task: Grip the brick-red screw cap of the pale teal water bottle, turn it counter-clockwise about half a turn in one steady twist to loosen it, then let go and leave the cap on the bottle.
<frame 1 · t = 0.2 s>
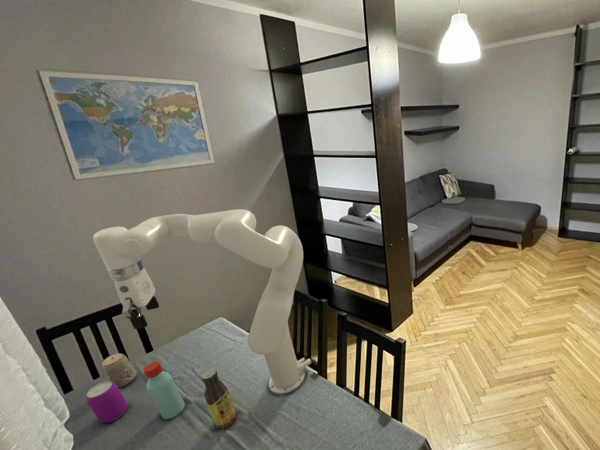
hand: (147, 317, 96), 36 cm above the table, tool pointing down, fingers open, 9 cm apart
carving: (126, 382, 120), on the table
beverage can: (115, 414, 107), on the table
water bottle: (173, 410, 107), on the table
cap: (151, 367, 99), point 20 cm above the table, screwed on, not yet turned
sauce bottle: (226, 420, 102), on the table
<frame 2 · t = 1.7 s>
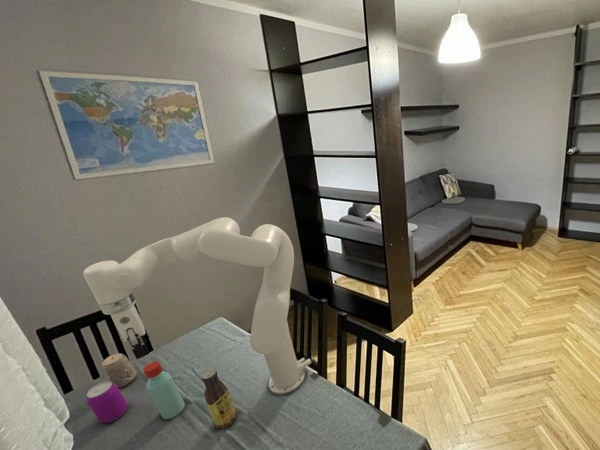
hand: (141, 350, 96), 27 cm above the table, tool pointing down, fingers open, 5 cm apart
nothing on the table moved.
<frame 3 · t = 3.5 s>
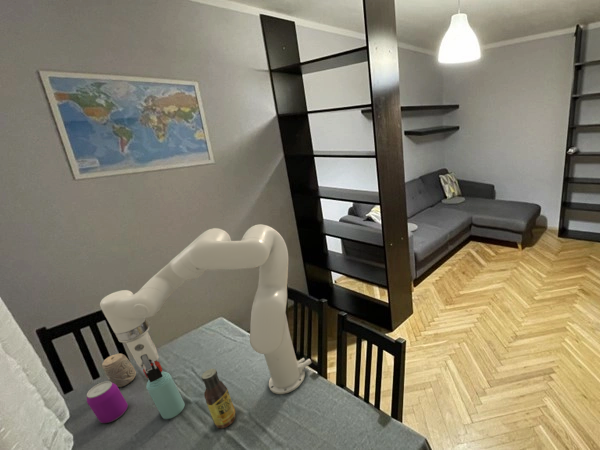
hand: (155, 374, 100), 17 cm above the table, tool pointing down, fingers closed on cap, 4 cm apart
cap: (151, 367, 99), point 20 cm above the table, screwed on, not yet turned, touching gripper
everything else where it was.
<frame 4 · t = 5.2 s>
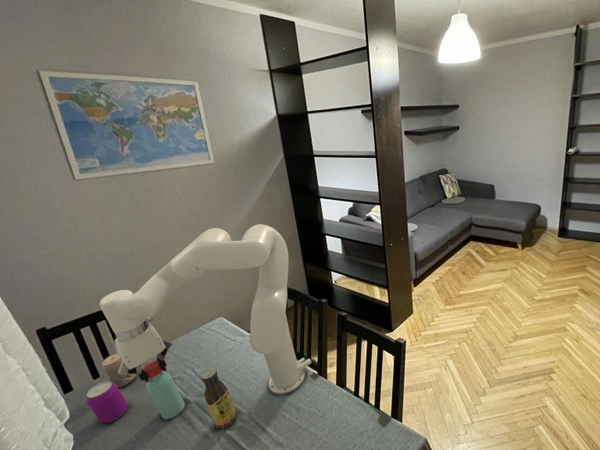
hand: (154, 374, 100), 17 cm above the table, tool pointing down, fingers closed on cap, 4 cm apart
cap: (151, 366, 99), point 20 cm above the table, turned 103° so far, risen 0.1 cm, still on its thread, touching gripper
everything else where it was.
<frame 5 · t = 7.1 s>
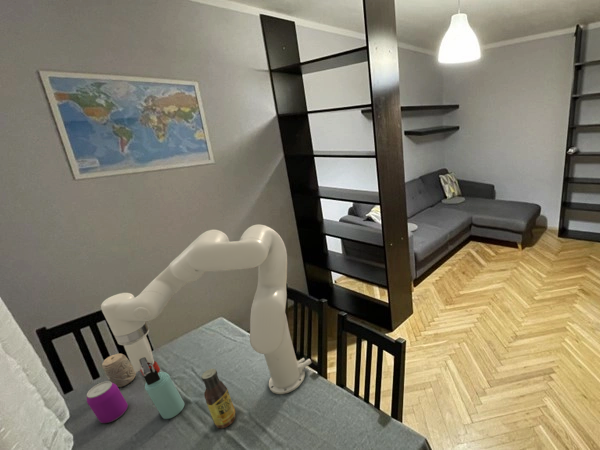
hand: (152, 377, 100), 16 cm above the table, tool pointing down, fingers closed on cap, 4 cm apart
water bottle: (173, 409, 106), on the table, touching gripper
cap: (148, 367, 99), point 20 cm above the table, turned 180° so far, risen 0.2 cm, still on its thread, touching gripper
everything else where it was.
when the fingers open (16 cm above the table, at t = 7.2 s): cap stays where it is, point 20 cm above the table.
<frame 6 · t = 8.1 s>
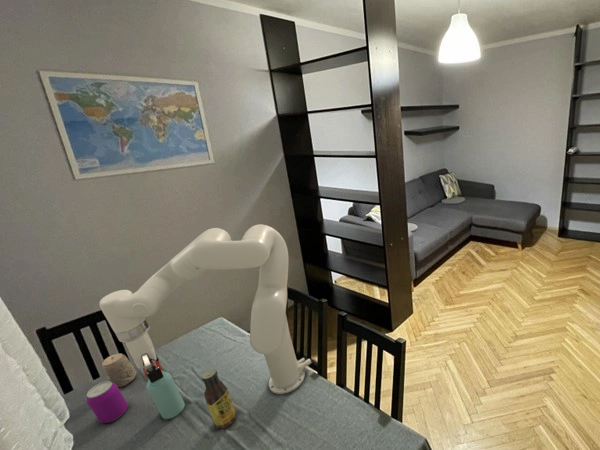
hand: (155, 371, 100), 18 cm above the table, tool pointing down, fingers open, 9 cm apart
water bottle: (173, 410, 107), on the table
cap: (151, 366, 99), point 20 cm above the table, turned 179° so far, risen 0.2 cm, still on its thread
everything else where it was.
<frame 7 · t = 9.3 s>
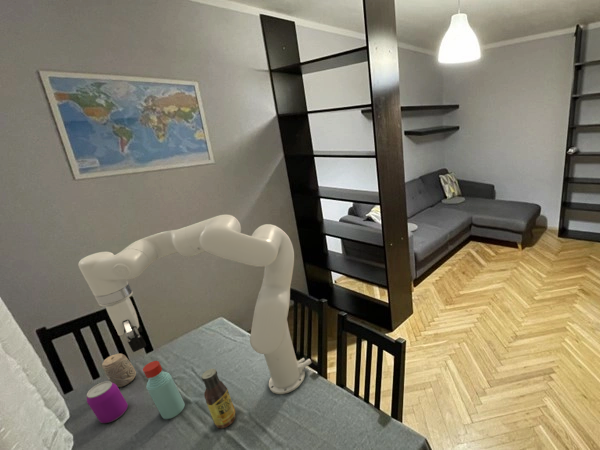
hand: (138, 340, 95), 30 cm above the table, tool pointing down, fingers open, 9 cm apart
nothing on the table moved.
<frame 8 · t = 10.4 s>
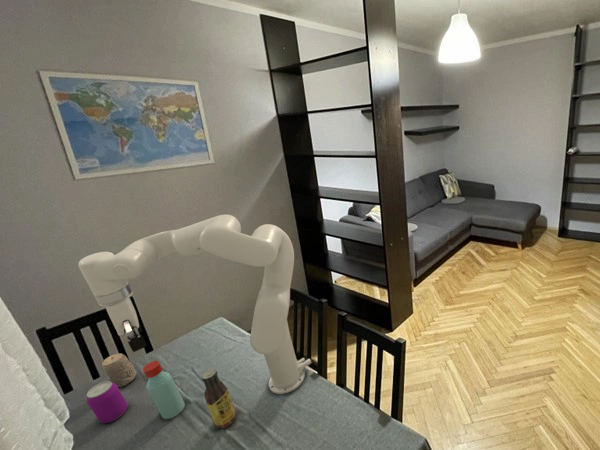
hand: (138, 340, 95), 30 cm above the table, tool pointing down, fingers open, 9 cm apart
nothing on the table moved.
at the end: cap turned 0.50 turns (still on its thread); water bottle tilted 0° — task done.
